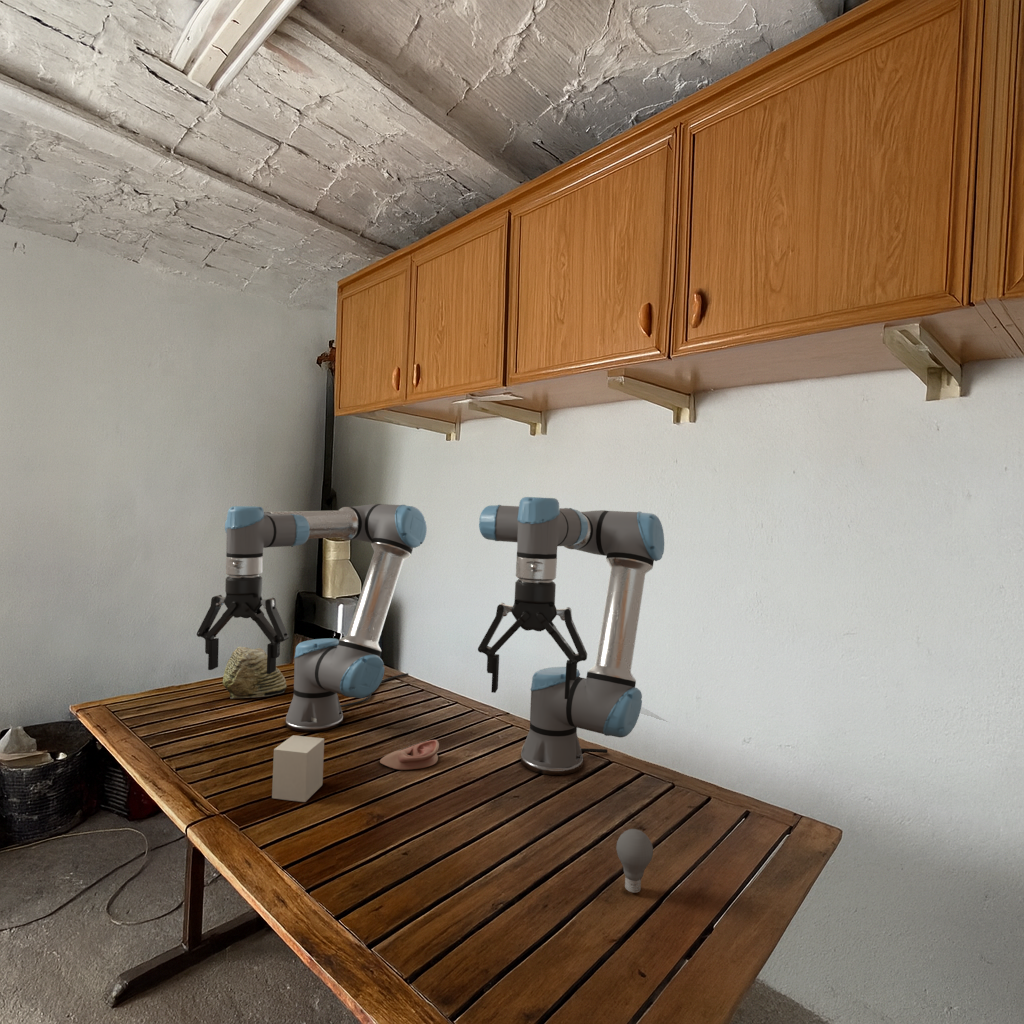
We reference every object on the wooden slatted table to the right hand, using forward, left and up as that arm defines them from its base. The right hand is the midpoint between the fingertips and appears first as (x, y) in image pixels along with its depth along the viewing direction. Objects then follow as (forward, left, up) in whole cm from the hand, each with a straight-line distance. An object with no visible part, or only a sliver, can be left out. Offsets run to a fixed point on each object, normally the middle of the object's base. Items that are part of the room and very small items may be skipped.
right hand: (530, 693), depth 118 cm
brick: (+39, -33, -28) cm, 59 cm away
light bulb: (-12, +18, -28) cm, 36 cm away
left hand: (+52, -44, -5) cm, 68 cm away
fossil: (+50, -104, -28) cm, 118 cm away
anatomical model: (+13, -42, -28) cm, 53 cm away
